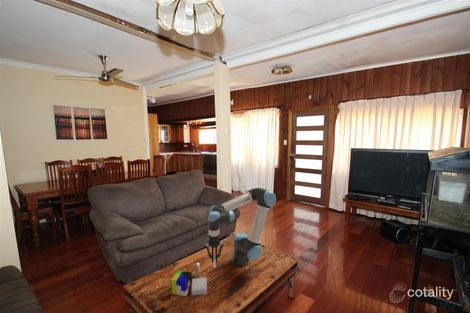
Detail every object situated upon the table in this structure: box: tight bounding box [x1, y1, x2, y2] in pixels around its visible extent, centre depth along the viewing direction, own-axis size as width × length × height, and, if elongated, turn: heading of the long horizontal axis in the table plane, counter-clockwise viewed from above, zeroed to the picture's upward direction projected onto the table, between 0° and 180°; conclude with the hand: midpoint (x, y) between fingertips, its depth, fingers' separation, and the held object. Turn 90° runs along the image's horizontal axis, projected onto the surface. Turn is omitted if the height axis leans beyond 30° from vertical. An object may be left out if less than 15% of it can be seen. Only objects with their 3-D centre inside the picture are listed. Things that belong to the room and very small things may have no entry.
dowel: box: [194, 262, 201, 279], centre depth 158 cm, size 4×4×10 cm
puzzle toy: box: [171, 270, 193, 297], centre depth 145 cm, size 10×10×10 cm
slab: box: [191, 277, 208, 296], centre depth 147 cm, size 10×12×4 cm
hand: (214, 266), depth 148 cm, fingers closed
